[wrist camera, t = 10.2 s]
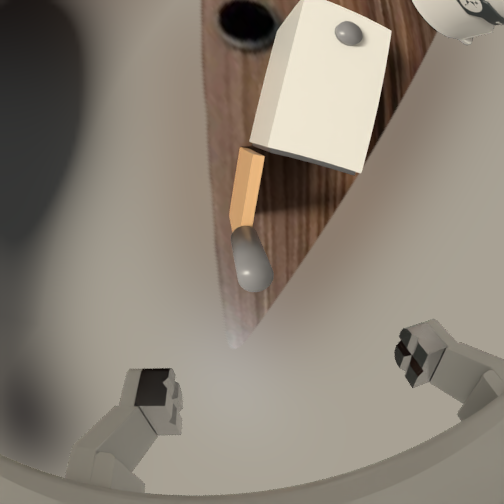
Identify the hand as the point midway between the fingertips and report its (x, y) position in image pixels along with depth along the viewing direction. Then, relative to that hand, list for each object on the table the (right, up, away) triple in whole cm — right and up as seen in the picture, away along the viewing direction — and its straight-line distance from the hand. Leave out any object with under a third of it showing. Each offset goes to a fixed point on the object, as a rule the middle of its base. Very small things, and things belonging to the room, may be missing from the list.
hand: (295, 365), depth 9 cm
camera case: (+4, +23, +22) cm, 32 cm away
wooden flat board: (-3, +12, +26) cm, 29 cm away
